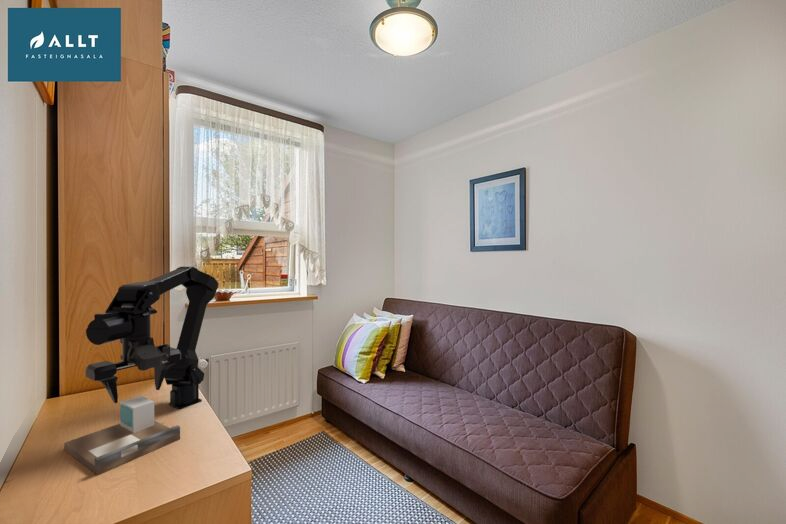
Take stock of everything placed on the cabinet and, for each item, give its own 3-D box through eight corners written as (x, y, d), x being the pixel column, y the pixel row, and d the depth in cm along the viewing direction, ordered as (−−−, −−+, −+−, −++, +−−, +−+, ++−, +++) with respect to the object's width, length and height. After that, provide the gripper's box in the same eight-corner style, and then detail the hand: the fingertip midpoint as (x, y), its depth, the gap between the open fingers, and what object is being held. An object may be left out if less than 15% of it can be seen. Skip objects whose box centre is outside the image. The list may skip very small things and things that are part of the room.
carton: (140, 418, 90) (140, 395, 90) (154, 425, 87) (154, 401, 87) (119, 426, 86) (118, 402, 86) (132, 433, 83) (132, 408, 83)
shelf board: (143, 420, 92) (143, 409, 92) (180, 439, 83) (180, 426, 83) (64, 449, 79) (63, 435, 78) (97, 475, 69) (97, 460, 69)
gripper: (104, 347, 74) (105, 419, 75) (192, 331, 90) (193, 390, 91) (84, 340, 80) (85, 407, 80) (170, 326, 96) (170, 381, 96)
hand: (137, 396), depth 87 cm, fingers open, 9 cm apart
